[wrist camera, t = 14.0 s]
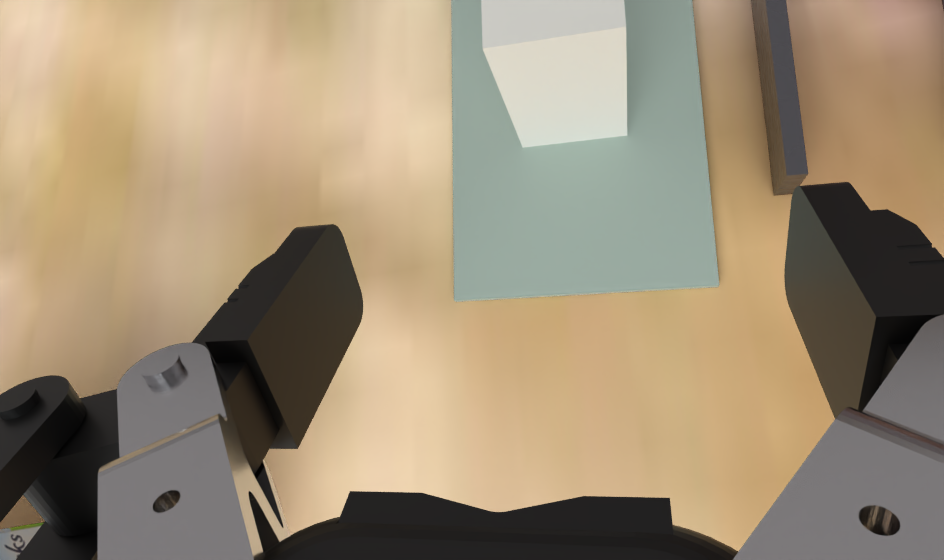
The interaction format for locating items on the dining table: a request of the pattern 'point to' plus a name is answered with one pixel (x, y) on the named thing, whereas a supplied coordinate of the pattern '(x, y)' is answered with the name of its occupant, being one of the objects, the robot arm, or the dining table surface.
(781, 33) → the brackets
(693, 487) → the dining table surface
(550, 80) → the block
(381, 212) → the dining table surface
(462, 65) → the mat
